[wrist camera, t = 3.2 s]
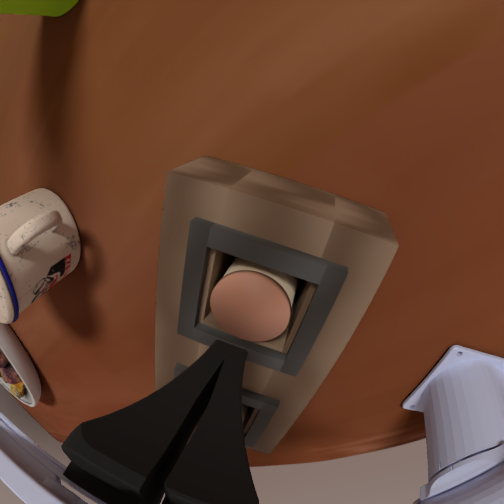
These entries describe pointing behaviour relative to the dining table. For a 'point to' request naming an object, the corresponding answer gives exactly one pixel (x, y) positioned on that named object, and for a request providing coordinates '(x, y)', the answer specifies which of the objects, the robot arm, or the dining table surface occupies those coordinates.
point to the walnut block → (272, 256)
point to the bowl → (17, 368)
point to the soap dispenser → (36, 7)
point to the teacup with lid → (34, 249)
